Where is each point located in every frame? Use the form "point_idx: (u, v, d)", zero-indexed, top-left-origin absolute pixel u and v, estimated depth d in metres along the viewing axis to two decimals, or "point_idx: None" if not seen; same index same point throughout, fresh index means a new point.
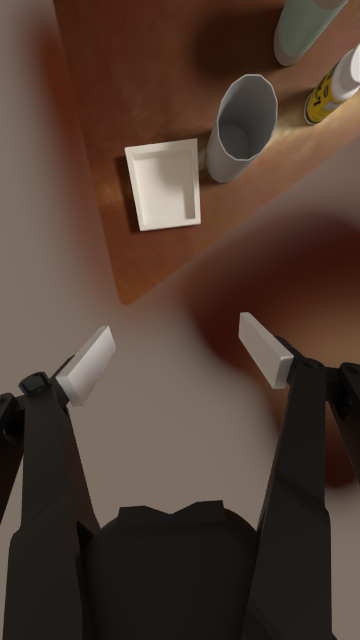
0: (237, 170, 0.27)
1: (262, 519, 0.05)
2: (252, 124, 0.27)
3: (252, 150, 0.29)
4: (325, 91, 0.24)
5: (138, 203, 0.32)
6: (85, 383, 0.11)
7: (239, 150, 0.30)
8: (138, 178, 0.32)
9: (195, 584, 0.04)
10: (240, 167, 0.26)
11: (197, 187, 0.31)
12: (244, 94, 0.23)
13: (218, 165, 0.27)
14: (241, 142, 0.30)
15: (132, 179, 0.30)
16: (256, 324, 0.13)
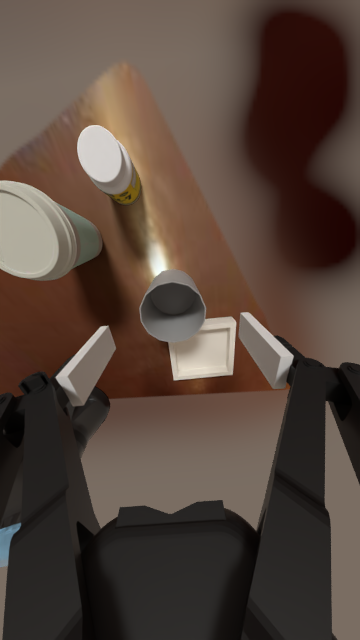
0: (201, 300, 0.23)
1: (262, 519, 0.05)
2: (155, 279, 0.24)
3: (173, 272, 0.25)
4: (123, 195, 0.19)
5: (211, 374, 0.35)
6: (85, 383, 0.11)
7: None
8: (190, 368, 0.36)
9: (195, 583, 0.04)
10: (202, 303, 0.22)
11: (203, 326, 0.29)
12: (144, 306, 0.22)
13: (194, 318, 0.25)
14: None
15: (193, 377, 0.35)
16: (256, 324, 0.13)
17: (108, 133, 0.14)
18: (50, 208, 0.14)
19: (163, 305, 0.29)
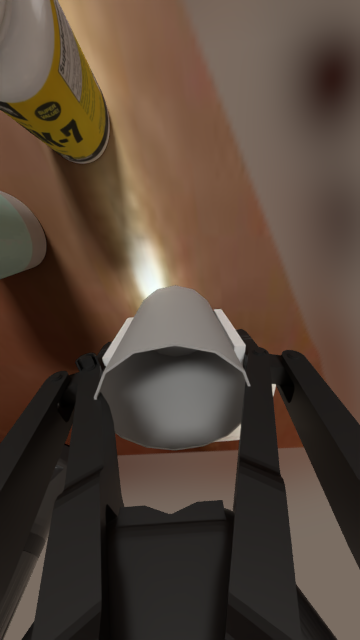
0: None
1: (234, 506, 0.05)
2: (142, 309, 0.13)
3: (176, 294, 0.13)
4: (48, 116, 0.07)
5: (231, 437, 0.23)
6: None
7: None
8: None
9: (195, 584, 0.04)
10: None
11: None
12: (117, 370, 0.11)
13: (214, 381, 0.14)
14: None
15: None
16: (224, 319, 0.14)
17: None
18: None
19: None
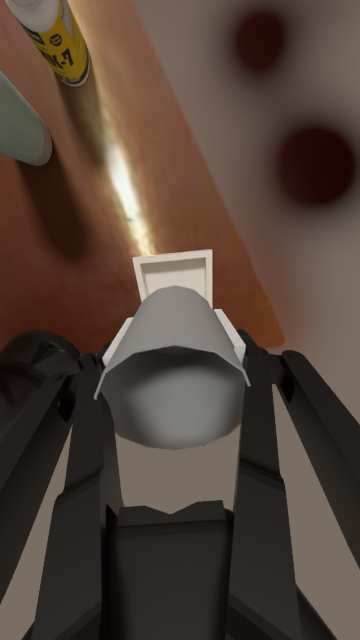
0: None
1: (234, 506, 0.05)
2: (142, 308, 0.13)
3: None
4: (55, 43, 0.15)
5: None
6: None
7: None
8: None
9: (195, 583, 0.04)
10: None
11: (174, 255, 0.26)
12: (117, 370, 0.11)
13: (214, 381, 0.14)
14: None
15: None
16: (224, 319, 0.14)
17: None
18: None
19: None
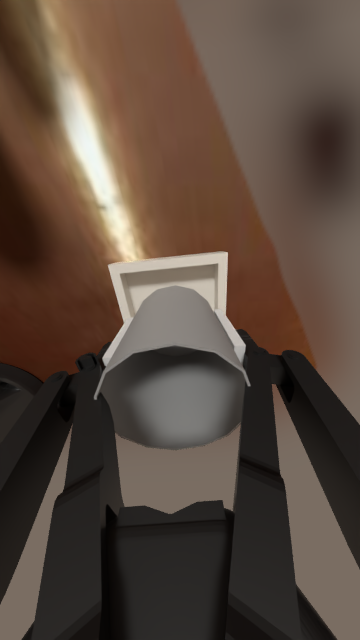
0: None
1: (234, 506, 0.05)
2: (142, 308, 0.13)
3: None
4: None
5: None
6: None
7: None
8: None
9: (195, 583, 0.04)
10: None
11: (171, 261, 0.17)
12: (117, 370, 0.11)
13: (214, 381, 0.14)
14: None
15: None
16: (224, 319, 0.14)
17: None
18: None
19: None
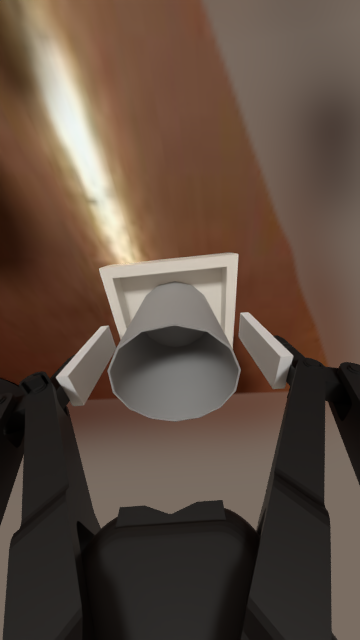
0: None
1: (262, 519, 0.05)
2: (145, 301, 0.15)
3: None
4: None
5: None
6: (85, 383, 0.11)
7: None
8: None
9: (195, 583, 0.04)
10: (228, 348, 0.12)
11: (172, 264, 0.15)
12: (124, 354, 0.13)
13: (210, 365, 0.15)
14: None
15: None
16: (256, 324, 0.13)
17: None
18: None
19: (160, 334, 0.20)
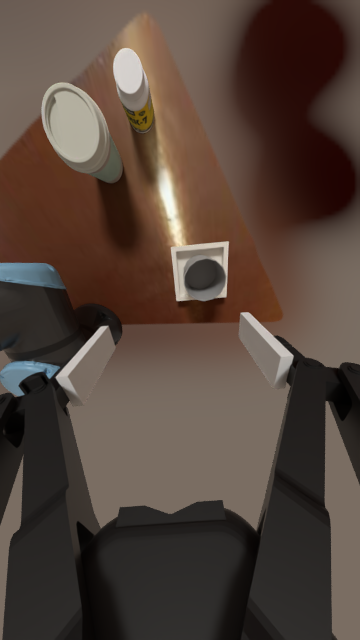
0: (221, 274, 0.34)
1: (262, 519, 0.05)
2: (190, 260, 0.36)
3: (202, 256, 0.36)
4: (141, 114, 0.25)
5: None
6: (85, 383, 0.11)
7: (198, 263, 0.39)
8: None
9: (195, 583, 0.04)
10: (223, 275, 0.33)
11: (201, 245, 0.36)
12: None
13: (216, 288, 0.36)
14: (193, 262, 0.39)
15: (193, 298, 0.41)
16: (256, 324, 0.13)
17: (134, 54, 0.21)
18: (95, 106, 0.21)
19: (192, 281, 0.41)
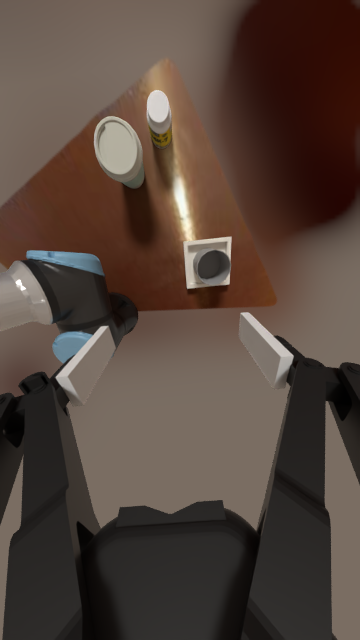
0: (226, 263, 0.42)
1: (262, 519, 0.05)
2: (199, 252, 0.43)
3: (209, 248, 0.43)
4: (164, 136, 0.32)
5: None
6: (85, 383, 0.11)
7: (205, 255, 0.46)
8: (198, 281, 0.50)
9: (195, 583, 0.04)
10: (227, 264, 0.41)
11: (208, 240, 0.43)
12: (196, 266, 0.41)
13: (221, 275, 0.43)
14: None
15: (201, 286, 0.49)
16: (256, 324, 0.13)
17: (163, 94, 0.28)
18: (134, 133, 0.28)
19: (200, 271, 0.48)
